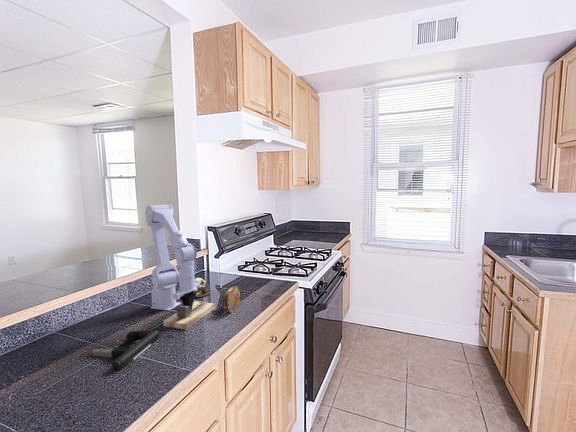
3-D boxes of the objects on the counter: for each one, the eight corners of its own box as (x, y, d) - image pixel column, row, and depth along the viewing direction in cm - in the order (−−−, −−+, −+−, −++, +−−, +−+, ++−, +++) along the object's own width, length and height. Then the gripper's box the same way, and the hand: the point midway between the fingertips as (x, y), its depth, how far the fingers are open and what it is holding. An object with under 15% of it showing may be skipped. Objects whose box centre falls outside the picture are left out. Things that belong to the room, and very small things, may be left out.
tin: (228, 316, 123) (228, 295, 122) (221, 315, 124) (220, 295, 123) (241, 301, 138) (241, 283, 137) (235, 301, 138) (234, 283, 137)
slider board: (163, 326, 115) (163, 320, 115) (194, 305, 134) (194, 301, 134) (186, 329, 112) (186, 324, 112) (215, 308, 131) (215, 303, 131)
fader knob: (176, 316, 117) (176, 307, 117) (181, 313, 120) (181, 304, 120) (185, 317, 116) (185, 308, 116) (190, 314, 119) (190, 305, 119)
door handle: (74, 359, 90) (123, 361, 87) (122, 328, 109) (163, 328, 106) (75, 370, 90) (124, 372, 87) (123, 337, 109) (164, 337, 107)
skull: (203, 297, 140) (189, 280, 141) (189, 310, 143) (176, 293, 144) (216, 288, 151) (203, 272, 152) (204, 300, 155) (191, 284, 156)
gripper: (184, 283, 112) (185, 319, 113) (206, 272, 125) (207, 304, 127) (167, 282, 114) (169, 317, 115) (191, 271, 127) (192, 303, 129)
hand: (188, 310), depth 121 cm, fingers closed
